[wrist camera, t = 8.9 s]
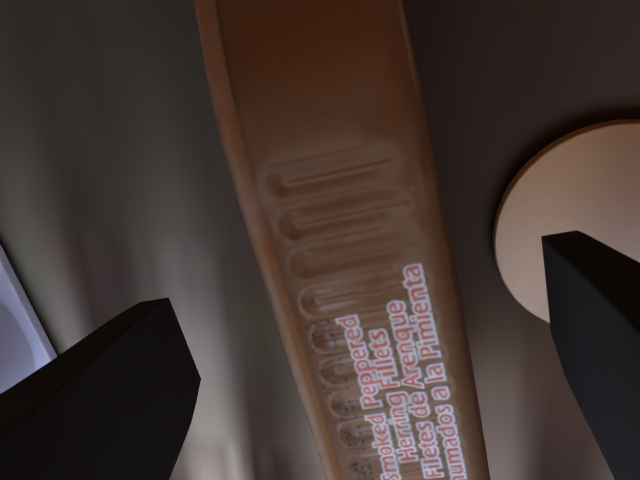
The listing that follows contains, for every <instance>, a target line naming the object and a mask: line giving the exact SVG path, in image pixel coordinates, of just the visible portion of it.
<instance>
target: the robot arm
mask: <svg viewBox="0 0 640 480" xmlns="http://www.w3.org/2000/svg"><path fill="white" fill-rule="evenodd" d="M541 240H542V250H543V259H544V269H545V279H546V288H547V298H548V308H549V318H550V327H551V333H552V337H553V340H554V343H555V346H556V349H557V352H558V356H559V359H560V362H561V365H562V368H563V371H564V374H565V377H566V379H567V381H568V383H569V385H570V388H571V390H572V392H573V394H574V396H575V398H576V400H577V402H578V404H579V406H580V409H581V411H582V413H583V415H584V417H585V419H586V421H587V423H588V425H589V427H590V429H591V431H592V433H593V435H594V437H595V439H596V442H597V444H598V446H599V448H600V450H601V452H602V454H603V456H604V458H605V460H606V462H607V464H608V466H609V468H610V470H611V472H612V474H613V476H614V479H615V480H640V262H638V261H636V260H634V259H632V258H630V257H628V256H626V255H624V254H622V253H621V252H619V251H617V250H615V249H613V248H611V247H609V246H607V245H606V244H604V243H602V242H600V241H598V240H596V239H594V238H593V237H591V236H589V235H587V234H585V233H583V232H580V231H578V230H575V231H569V232H563V233H557V234H551V235H545V236H541ZM200 381H201V378H200V375H199V373H198V370H197V368H196V365H195V363H194V360H193V358H192V355H191V353H190V350H189V348H188V345H187V343H186V340H185V338H184V335H183V333H182V330H181V327H180V325H179V322H178V320H177V317H176V315H175V312H174V310H173V307H172V305H171V302H170V300H169V298H163V299H157V300H151V301H145V302H140V303H138V304H136V305H134V306H132V307H131V308H129V309H127V310H125V311H124V312H122V313H120V314H119V315H117V316H116V317H114V318H113V319H111V320H110V321H108V322H107V323H105V324H104V325H102V326H101V327H99V328H98V329H97V330H95V331H94V332H92V333H91V334H89V335H88V336H86V337H85V338H84V339H82V340H81V341H79V342H78V343H76V344H75V345H74V346H72V347H71V348H69V349H68V350H66V351H65V352H64V353H62V354H61V355H59V356H58V357H57V355H56V353H55V351H54V349H53V347H52V345H51V343H50V341H49V339H48V337H47V335H46V333H45V331H44V329H43V327H42V325H41V323H40V321H39V320H38V318H37V316H36V314H35V312H34V310H33V308H32V306H31V304H30V302H29V300H28V298H27V296H26V294H25V292H24V290H23V288H22V286H21V284H20V282H19V280H18V278H17V276H16V274H15V272H14V270H13V268H12V266H11V264H10V262H9V260H8V258H7V256H6V254H5V252H4V251H3V249H2V247H1V245H0V480H169V478H170V476H171V473H172V471H173V468H174V466H175V463H176V461H177V458H178V456H179V453H180V451H181V448H182V445H183V443H184V440H185V438H186V435H187V432H188V430H189V427H190V424H191V421H192V417H193V413H194V409H195V405H196V401H197V396H198V391H199V386H200Z"/></svg>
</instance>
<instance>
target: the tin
mask: <svg viewBox="0 0 640 480" xmlns="http://www.w3.org/2000/svg"><path fill="white" fill-rule="evenodd" d="M194 2H195V8H196V16H197V22H198V27H199V34H200V41H201V47H202V53H203V58H204V64H205V70H206V75H207V79H208V84H209V89H210V95H211V98H212V103H213V108H214V111H215V114H216V118H217V123H218V130H219V135H220V137H221V140H222V144H223V148H224V152H225V157H226V162H227V164H228V166H229V169H230V173H231V176H232V180H233V184H234V188H235V192H236V195H237V198H238V202H239V205H240V208H241V212H242V215H243V218H244V222H245V225H246V228H247V231H248V234H249V237H250V240H251V243H252V246H253V249H254V253H255V256H256V259H257V262H258V266H259V269H260V272H261V275H262V278H263V281H264V284H265V288H266V291H267V294H268V297H269V300H270V302H271V305H272V308H273V312H274V315H275V319H276V323H277V326H278V329H279V332H280V335H281V339H282V342H283V345H284V348H285V352H286V355H287V358H288V361H289V364H290V366H291V369H292V372H293V376H294V380H295V383H296V387H297V389H298V391H299V395H300V398H301V400H302V403H303V407H304V410H305V414H306V417H307V420H308V424H309V427H310V430H311V433H312V436H313V439H314V443H315V446H316V450H317V453H318V456H319V459H320V462H321V464H322V467H323V470H324V475H325V478H326V480H490V474H489V468H488V461H487V454H486V447H485V442H484V436H483V430H482V423H481V416H480V410H479V403H478V397H477V391H476V385H475V379H474V373H473V367H472V361H471V355H470V349H469V344H468V338H467V333H466V327H465V322H464V316H463V310H462V304H461V299H460V293H459V288H458V283H457V277H456V272H455V266H454V260H453V255H452V249H451V244H450V239H449V234H448V229H447V224H446V219H445V214H444V209H443V204H442V198H441V192H440V187H439V181H438V175H437V170H436V164H435V159H434V153H433V147H432V142H431V137H430V132H429V126H428V121H427V116H426V111H425V106H424V100H423V95H422V90H421V85H420V80H419V76H418V71H417V66H416V61H415V56H414V52H413V47H412V42H411V37H410V33H409V28H408V23H407V19H406V14H405V9H404V4H403V0H194Z"/></svg>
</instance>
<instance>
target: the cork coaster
mask: <svg viewBox="0 0 640 480" xmlns="http://www.w3.org/2000/svg"><path fill="white" fill-rule="evenodd" d="M575 230H578V231H580V232H583V233H585V234H587V235H589V236H591V237H593V238H594V239H596V240H598V241H600V242H602V243H604V244H606V245H607V246H609V247H611V248H613V249H615V250H617V251H619V252H621V253H622V254H624V255H626V256H628V257H630V258H632V259H634V260H636V261H638V262H640V119H620V120H612V121H605V122H601V123H597V124H593V125H589V126H586V127H583V128H580V129H578V130H575V131H573V132H570V133H568V134H566V135H564V136H562V137H561V138H559V139H557V140H555V141H553V142H552V143H550V144H549V145H547V146H546V147H544V148H543V149H541V150H540V151H539V152H538V153H537V154H536V155H534V156H533V157H532V158H531V159H530V160H529V161H528V162H527V163H526V164H525V165H524V166H523V167H522V168H521V169H520V170H519V171H518V173H517V174H516V175H515V177H514V178H513V179H512V181H511V182H510V184H509V185H508V187H507V189H506V191H505V193H504V194H503V196H502V198H501V201H500V203H499V206H498V209H497V212H496V216H495V220H494V225H493V237H492V238H493V251H494V256H495V260H496V264H497V267H498V270H499V272H500V275H501V278H502V280H503V282H504V283H505V285H506V287H507V289H508V290H509V292H510V293H511V294H512V295H513V297H514V298H515V299H516V300H517V301H518V302H519V303H520V304H521V305H522V306H523V307H524V308H525V309H527V310H528V311H529V312H531V313H532V314H534V315H535V316H537V317H539V318H540V319H542V320H544V321H546V322H548V323H550V318H549V308H548V298H547V288H546V279H545V269H544V259H543V250H542V240H541V236H545V235H551V234H557V233H563V232H569V231H575Z"/></svg>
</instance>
